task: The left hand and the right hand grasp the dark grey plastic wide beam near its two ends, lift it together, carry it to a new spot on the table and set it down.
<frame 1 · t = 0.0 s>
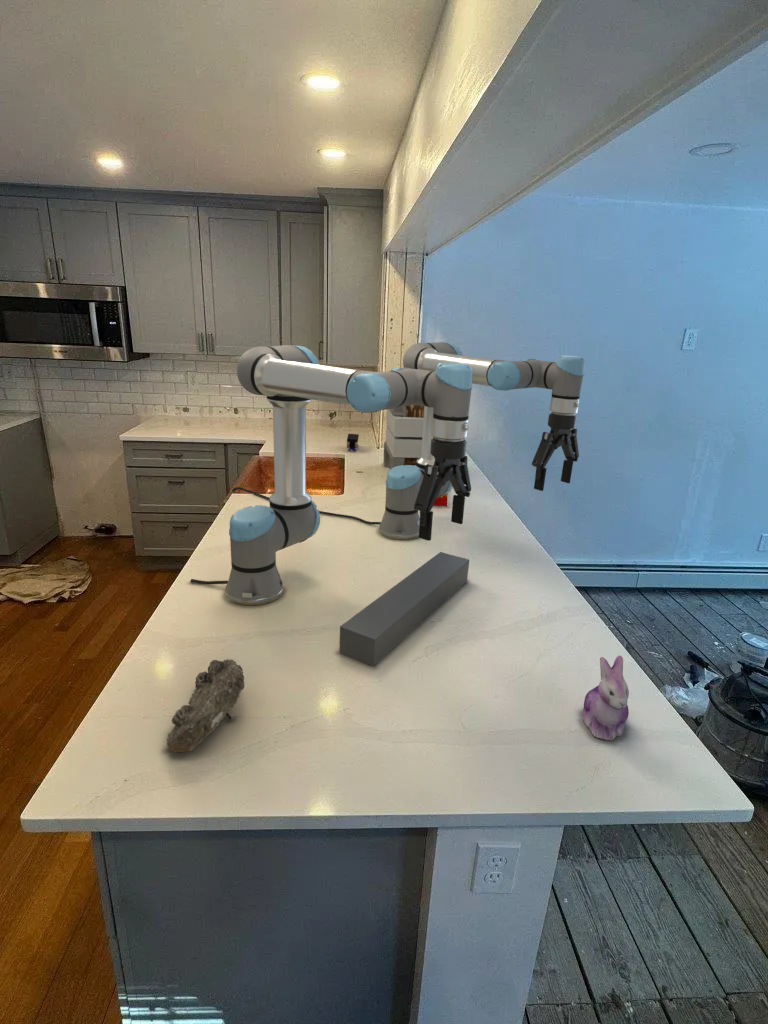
left hand: (441, 530, 128), 28 cm above the counter, tool pointing down, fingers open, 13 cm apart
right hand: (552, 485, 166), 28 cm above the counter, tool pointing down, fingers open, 13 cm apart
wide beam: (411, 612, 149), on the counter
transformer: (419, 473, 275), on the counter
figurine: (604, 725, 111), on the counter
figurine character: (352, 449, 315), on the counter
toy: (431, 496, 242), on the counter
fossil: (212, 717, 108), on the counter
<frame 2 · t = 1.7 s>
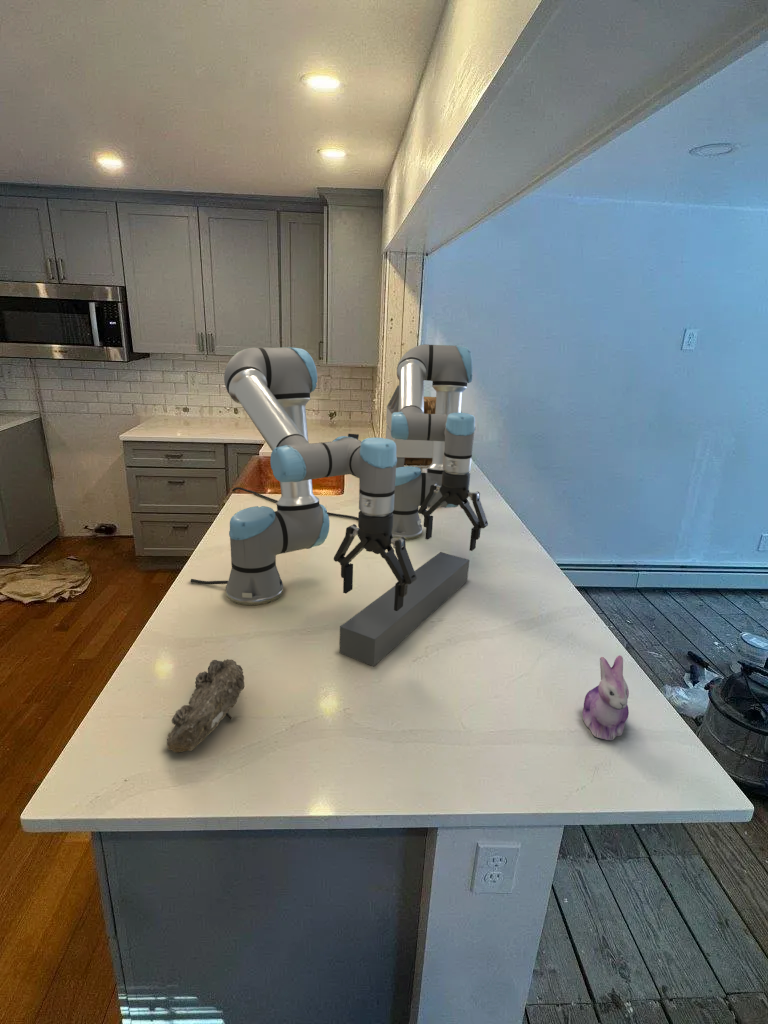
left hand: (372, 599, 128), 13 cm above the counter, tool pointing down, fingers open, 13 cm apart
right hand: (450, 543, 160), 13 cm above the counter, tool pointing down, fingers open, 13 cm apart
nothing on the counter moved.
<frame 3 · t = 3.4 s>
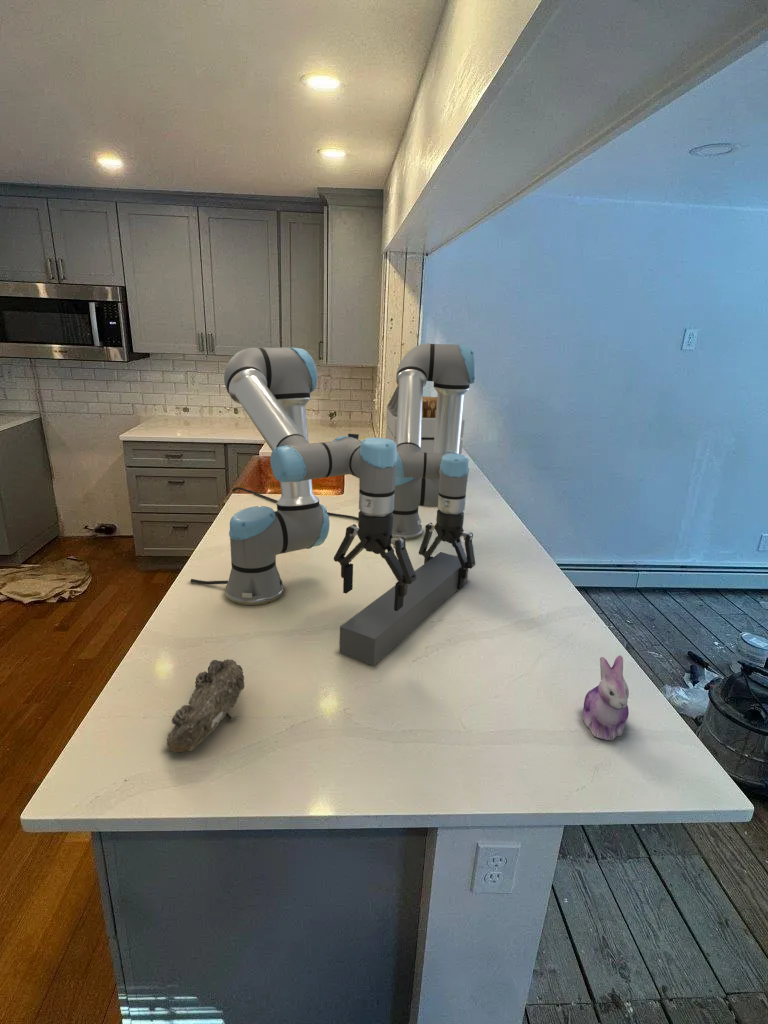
left hand: (372, 599, 128), 13 cm above the counter, tool pointing down, fingers open, 13 cm apart
right hand: (444, 582, 164), 0 cm above the counter, tool pointing down, fingers closed on wide beam, 9 cm apart
wide beam: (411, 612, 149), on the counter, touching right hand
everything else where it was.
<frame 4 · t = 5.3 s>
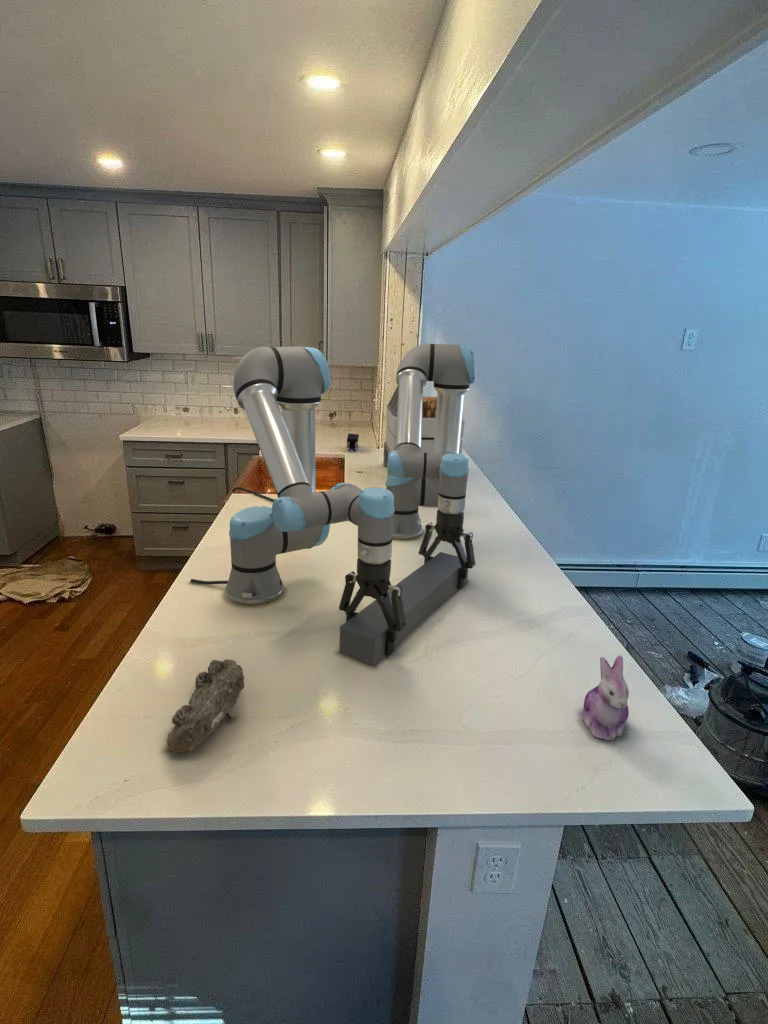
left hand: (370, 645, 132), 0 cm above the counter, tool pointing down, fingers closed on wide beam, 9 cm apart
right hand: (444, 582, 164), 0 cm above the counter, tool pointing down, fingers closed on wide beam, 9 cm apart
wide beam: (411, 612, 149), on the counter, touching right hand, left hand
everything else where it was.
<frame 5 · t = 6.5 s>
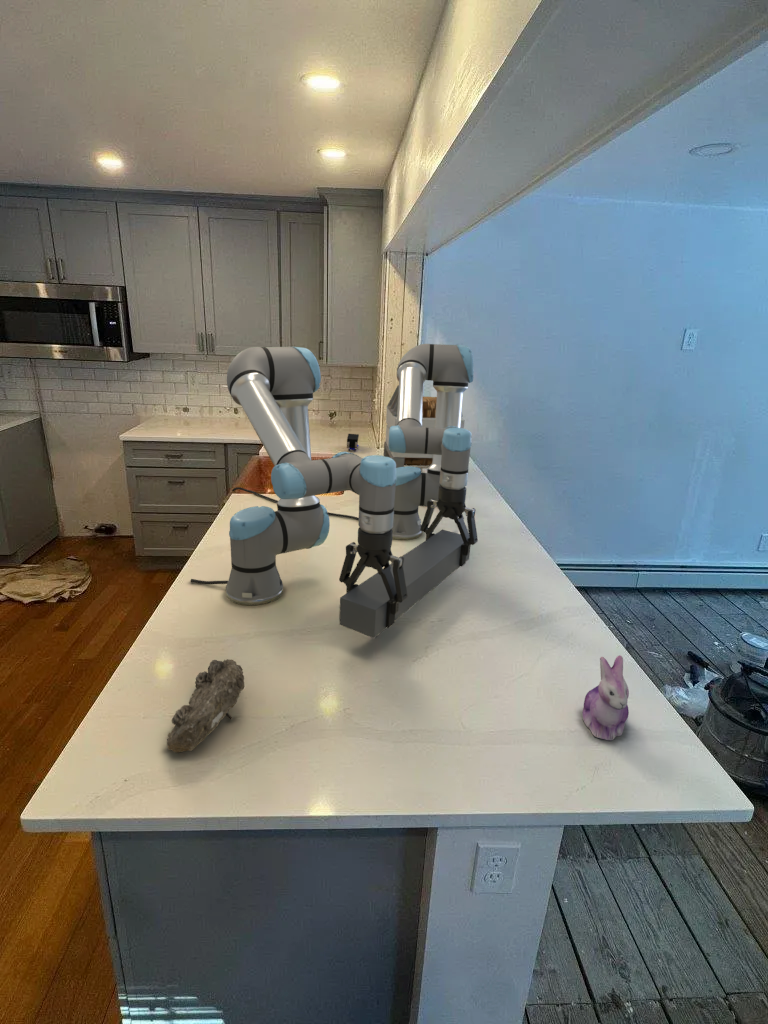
left hand: (371, 617, 130), 8 cm above the counter, tool pointing down, fingers closed on wide beam, 9 cm apart
right hand: (446, 559, 162), 8 cm above the counter, tool pointing down, fingers closed on wide beam, 9 cm apart
wide beam: (412, 587, 146), point 7 cm above the counter, touching right hand, left hand
everything else where it was.
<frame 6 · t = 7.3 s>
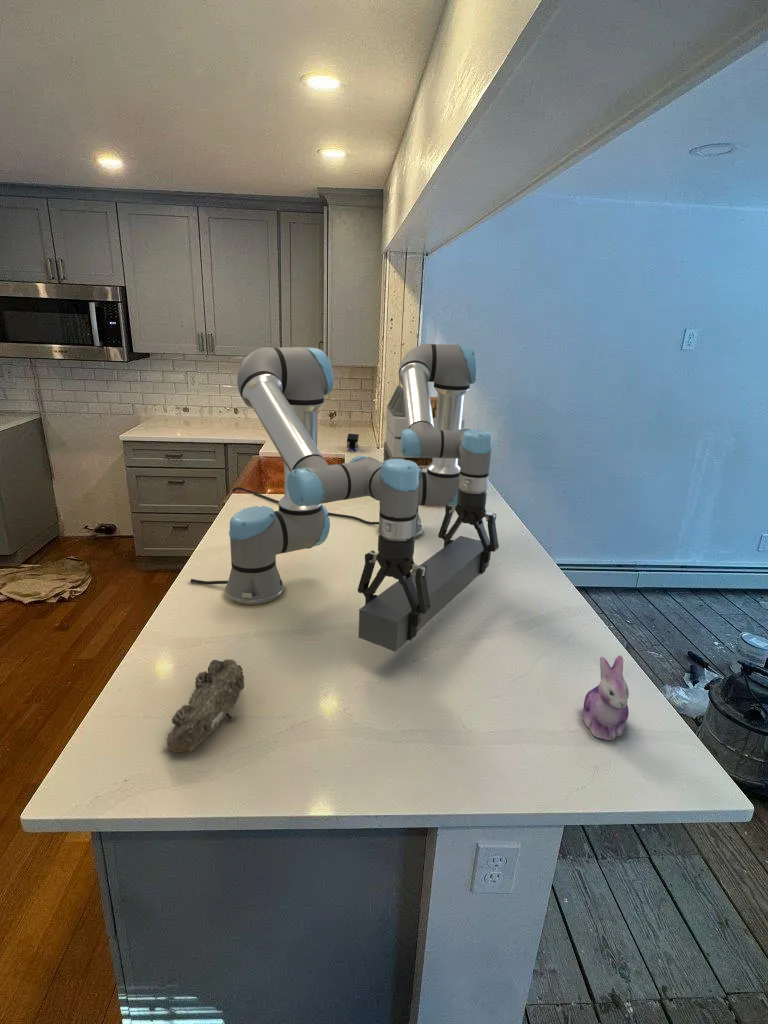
left hand: (391, 630, 124), 9 cm above the counter, tool pointing down, fingers closed on wide beam, 9 cm apart
right hand: (465, 567, 156), 9 cm above the counter, tool pointing down, fingers closed on wide beam, 9 cm apart
wide beam: (432, 597, 140), point 8 cm above the counter, touching right hand, left hand
everything else where it was.
when the left hand's fingers open (2 cm above the counter, at t = 9.7 s): wide beam drops 1 cm, on the counter.
when the right hand's fingers open (2 cm above the counter, at t = 9.7 s): wide beam drops 1 cm, on the counter.
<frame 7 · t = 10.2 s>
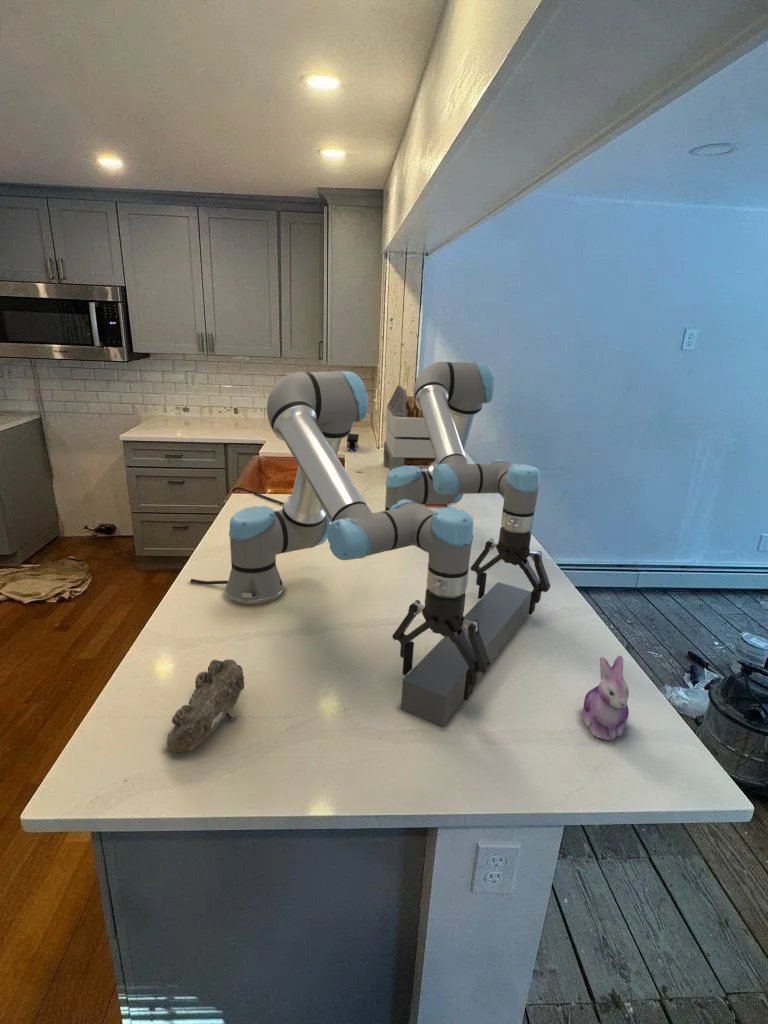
left hand: (436, 683, 114), 4 cm above the counter, tool pointing down, fingers open, 13 cm apart
right hand: (505, 604, 146), 4 cm above the counter, tool pointing down, fingers open, 13 cm apart
wide beam: (473, 655, 131), on the counter
everything else where it was.
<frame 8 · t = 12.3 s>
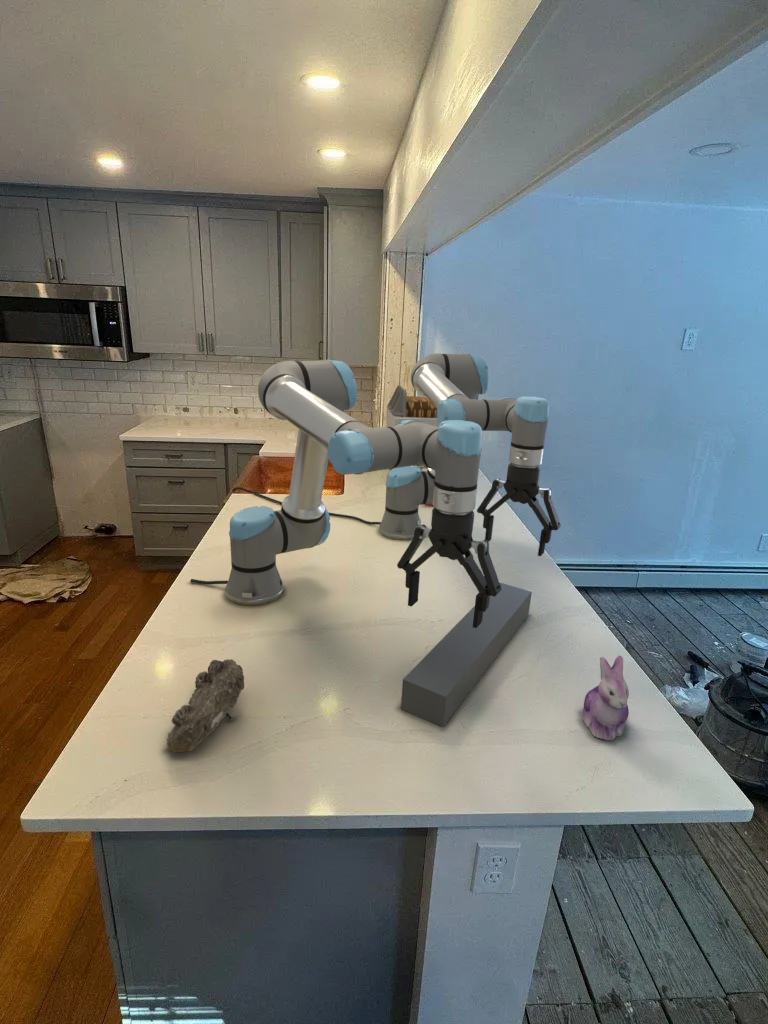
left hand: (444, 613, 108), 20 cm above the counter, tool pointing down, fingers open, 13 cm apart
right hand: (513, 547, 140), 20 cm above the counter, tool pointing down, fingers open, 13 cm apart
nothing on the counter moved.
at the end: wide beam inside the target area (0.2 cm from its centre), on the counter; wide beam tilted 0°; wide beam never tilted more than 2° during the clip; both hands held the wide beam at the same time; the left hand is holding nothing; the right hand is holding nothing; wide beam at rest at the end (0.0 cm/s) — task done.
